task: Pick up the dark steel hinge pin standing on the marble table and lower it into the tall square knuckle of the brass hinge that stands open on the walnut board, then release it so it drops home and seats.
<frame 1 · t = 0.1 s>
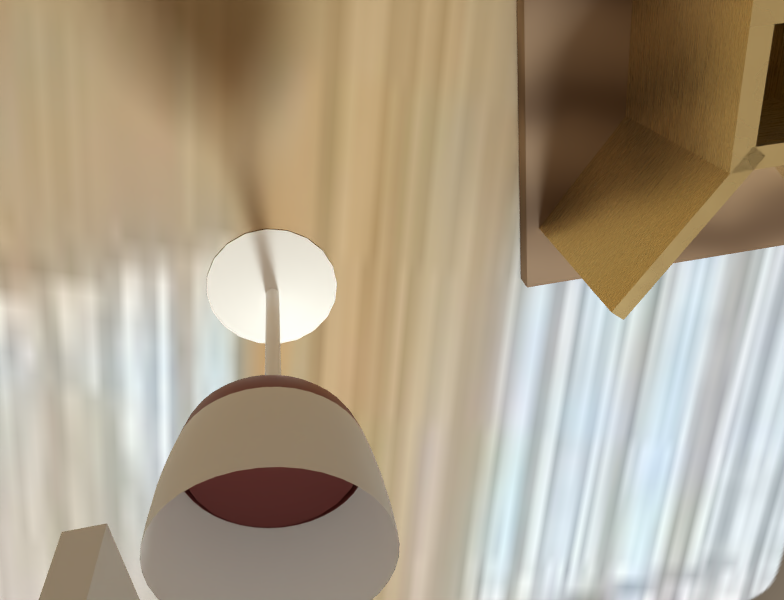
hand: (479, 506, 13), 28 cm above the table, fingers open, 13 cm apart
board: (674, 94, 39), on the table
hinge: (679, 38, 38), resting on board
wineglass: (272, 287, 42), on the table
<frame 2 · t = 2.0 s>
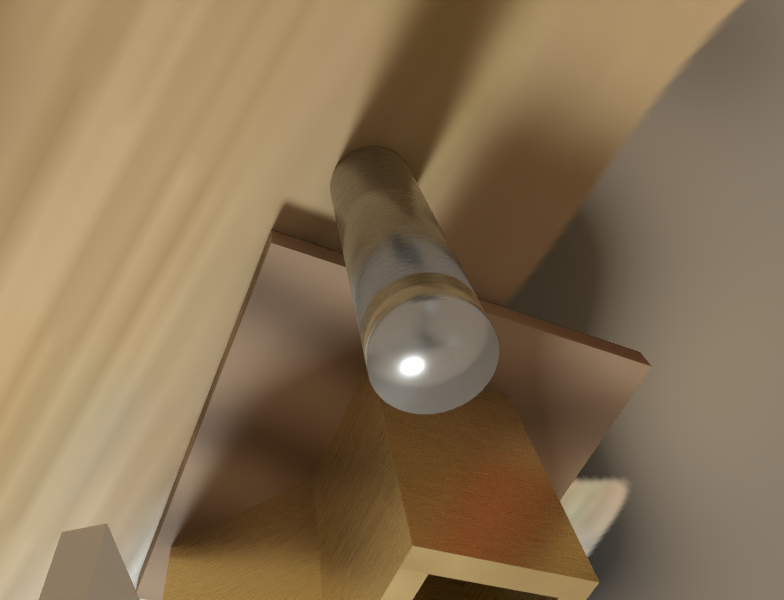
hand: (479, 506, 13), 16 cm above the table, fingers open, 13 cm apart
board: (381, 468, 34), on the table
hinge: (406, 421, 33), resting on board
pin: (371, 187, 27), on the table
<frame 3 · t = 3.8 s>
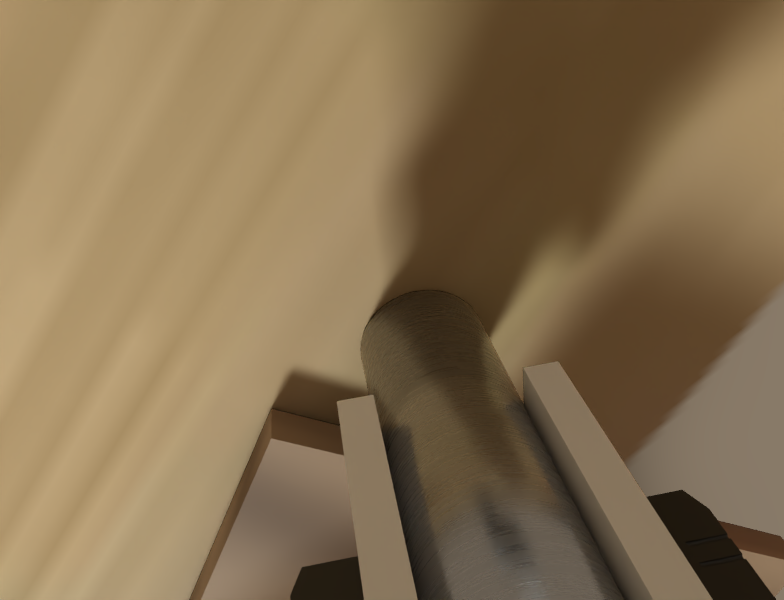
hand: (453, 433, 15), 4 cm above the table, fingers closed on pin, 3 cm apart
pin: (422, 345, 18), on the table, touching gripper
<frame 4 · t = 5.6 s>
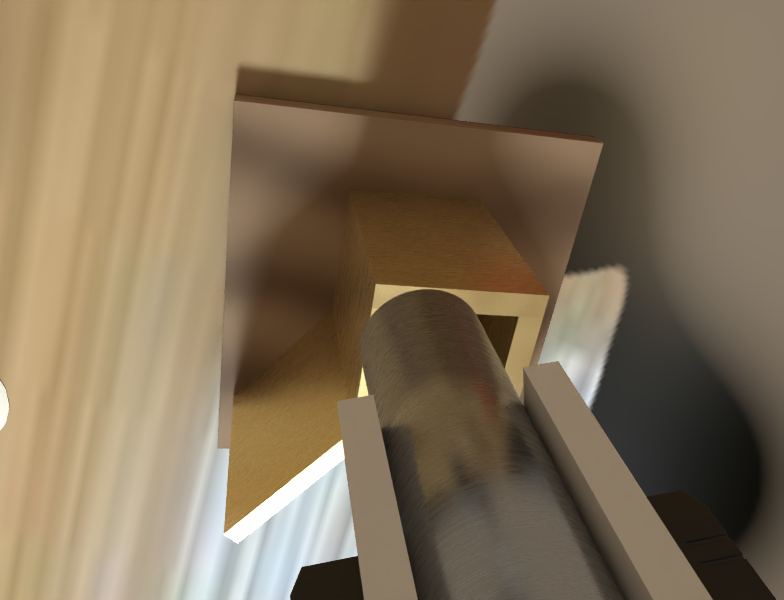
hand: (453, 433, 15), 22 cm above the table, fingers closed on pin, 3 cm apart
board: (392, 296, 39), on the table
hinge: (401, 246, 38), resting on board
pin: (421, 344, 18), point 19 cm above the table, touching gripper
when the fingers open (13 cm above the table, at t = 7.5 s): pin drops 8 cm, resting on board.
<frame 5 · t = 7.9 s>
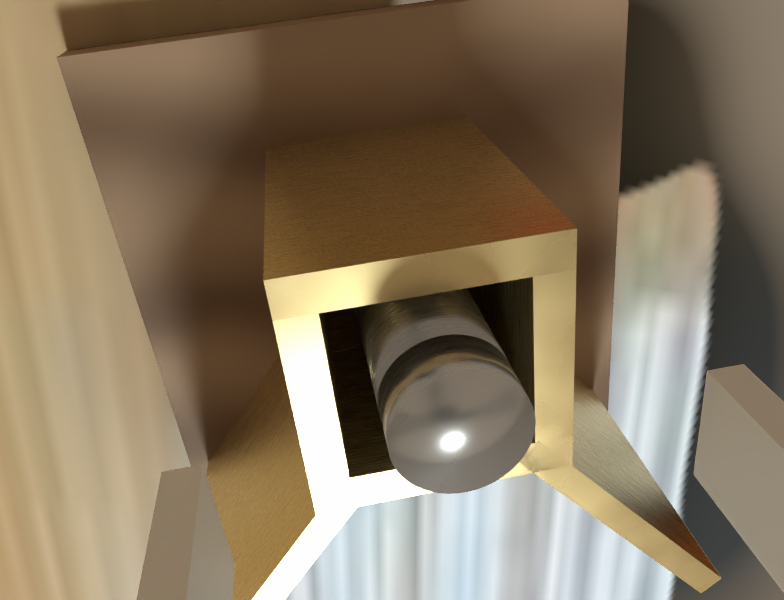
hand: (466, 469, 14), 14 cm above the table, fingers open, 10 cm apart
board: (383, 282, 28), on the table
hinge: (374, 211, 26), resting on board
pin: (380, 224, 25), point 1 cm above the table, touching board
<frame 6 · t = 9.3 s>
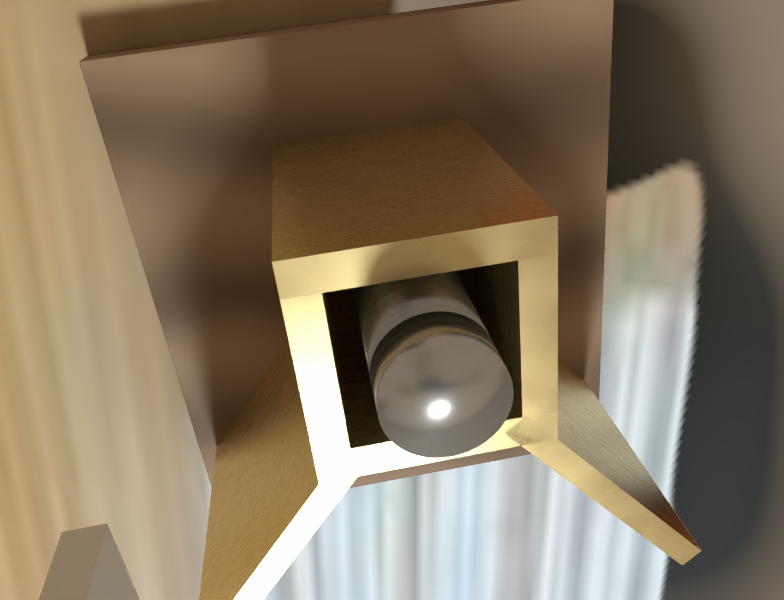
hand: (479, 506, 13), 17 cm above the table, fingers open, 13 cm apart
board: (384, 275, 29), on the table
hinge: (375, 207, 28), resting on board
pin: (380, 218, 27), point 1 cm above the table, touching board
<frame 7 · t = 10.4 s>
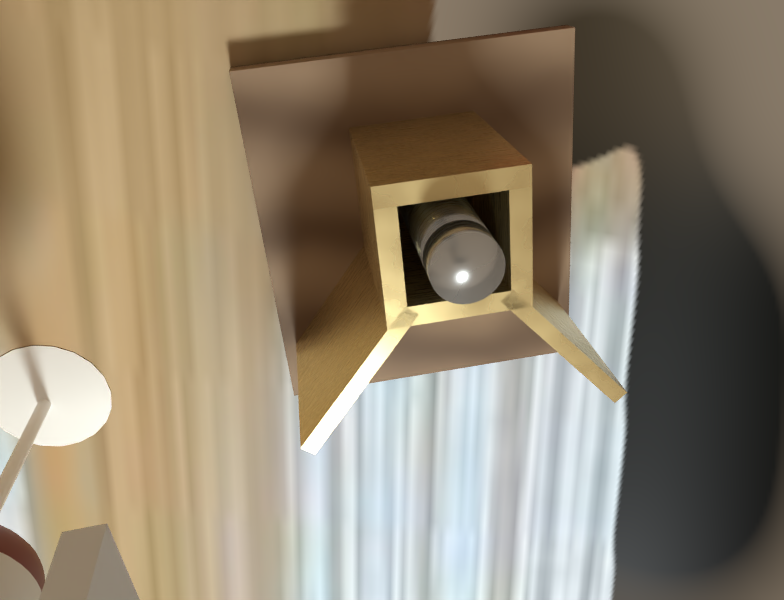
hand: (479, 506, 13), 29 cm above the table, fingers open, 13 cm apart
board: (417, 222, 42), on the table
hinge: (413, 173, 41), resting on board
wineglass: (48, 396, 44), on the table
pin: (417, 180, 39), point 1 cm above the table, touching board
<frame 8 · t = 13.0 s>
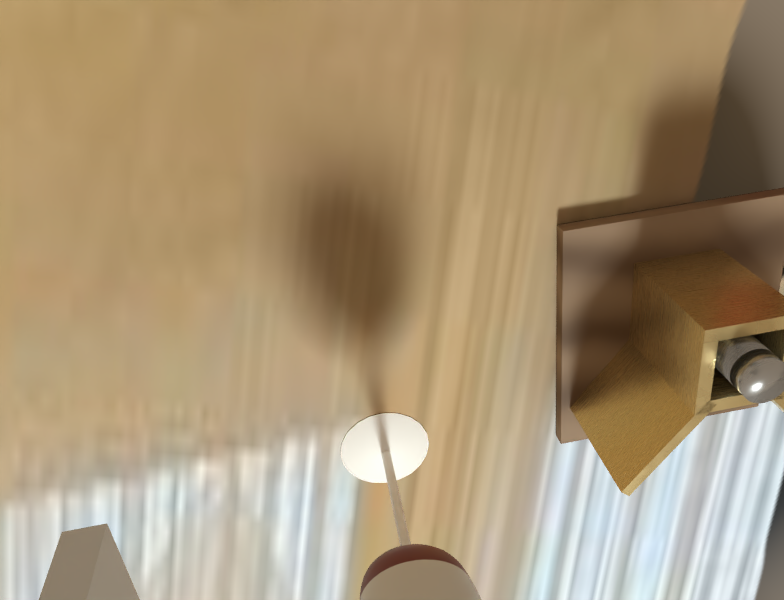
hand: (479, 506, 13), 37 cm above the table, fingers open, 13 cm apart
board: (662, 319, 58), on the table
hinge: (665, 287, 56), resting on board
wineglass: (384, 447, 60), on the table
pin: (673, 294, 55), point 1 cm above the table, touching board
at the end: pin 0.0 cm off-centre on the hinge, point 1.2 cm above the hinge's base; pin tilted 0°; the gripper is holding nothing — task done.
